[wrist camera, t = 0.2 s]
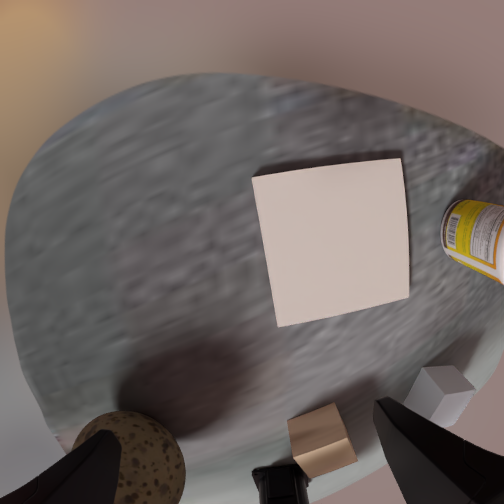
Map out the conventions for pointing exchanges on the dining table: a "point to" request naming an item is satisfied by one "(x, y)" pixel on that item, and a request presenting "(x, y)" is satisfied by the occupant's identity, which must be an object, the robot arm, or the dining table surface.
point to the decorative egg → (142, 458)
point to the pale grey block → (440, 394)
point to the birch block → (320, 441)
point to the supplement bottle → (475, 236)
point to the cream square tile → (334, 238)
